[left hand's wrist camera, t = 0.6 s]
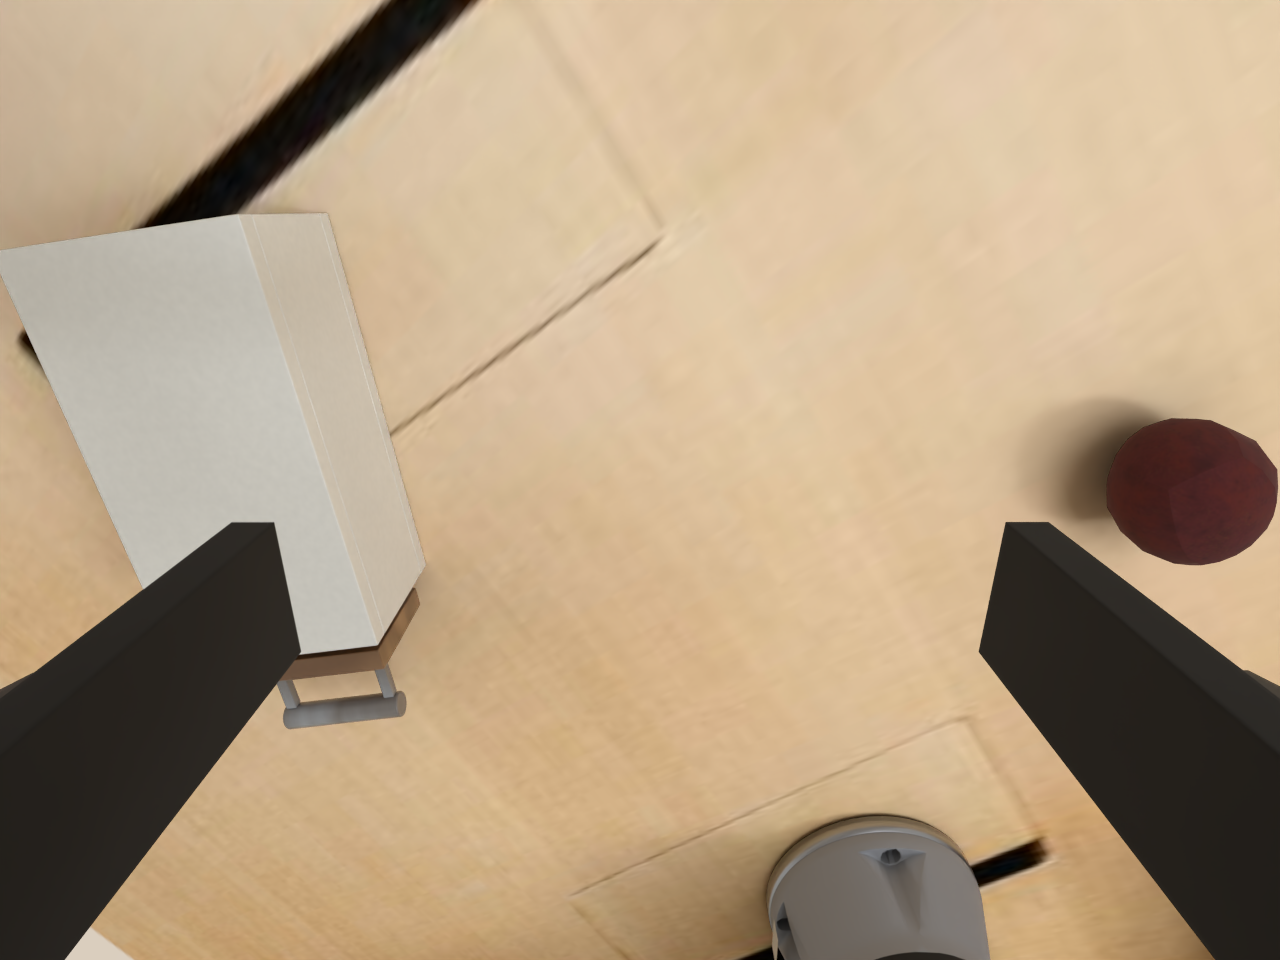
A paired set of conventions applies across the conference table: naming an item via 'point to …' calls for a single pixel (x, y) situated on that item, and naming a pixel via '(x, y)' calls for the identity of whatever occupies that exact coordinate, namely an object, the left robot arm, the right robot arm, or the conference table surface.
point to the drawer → (349, 662)
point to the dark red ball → (1192, 491)
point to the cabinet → (228, 404)
